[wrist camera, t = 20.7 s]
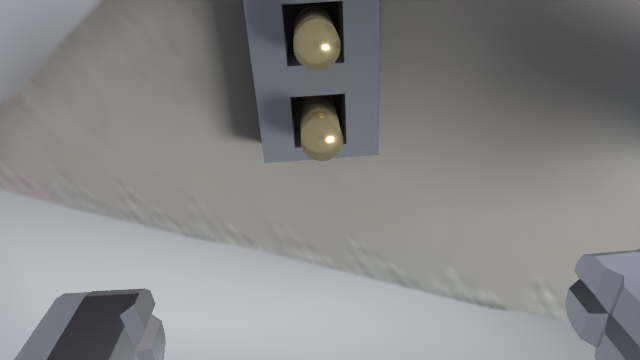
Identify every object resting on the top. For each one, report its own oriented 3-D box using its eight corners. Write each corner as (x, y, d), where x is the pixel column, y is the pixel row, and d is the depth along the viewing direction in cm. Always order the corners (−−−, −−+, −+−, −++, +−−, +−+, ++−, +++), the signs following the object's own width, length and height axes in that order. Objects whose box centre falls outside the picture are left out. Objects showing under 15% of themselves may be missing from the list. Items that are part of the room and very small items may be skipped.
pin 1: (331, 5, 34) (339, 20, 28) (332, 44, 36) (341, 68, 29) (292, 7, 34) (291, 23, 27) (295, 47, 36) (295, 72, 29)
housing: (246, -17, 33) (241, -12, 30) (371, -25, 34) (380, -21, 30) (267, 144, 40) (264, 162, 37) (370, 136, 40) (377, 154, 37)
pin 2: (334, 88, 38) (342, 120, 31) (335, 121, 39) (343, 159, 33) (298, 91, 38) (299, 123, 31) (301, 124, 39) (302, 162, 32)
